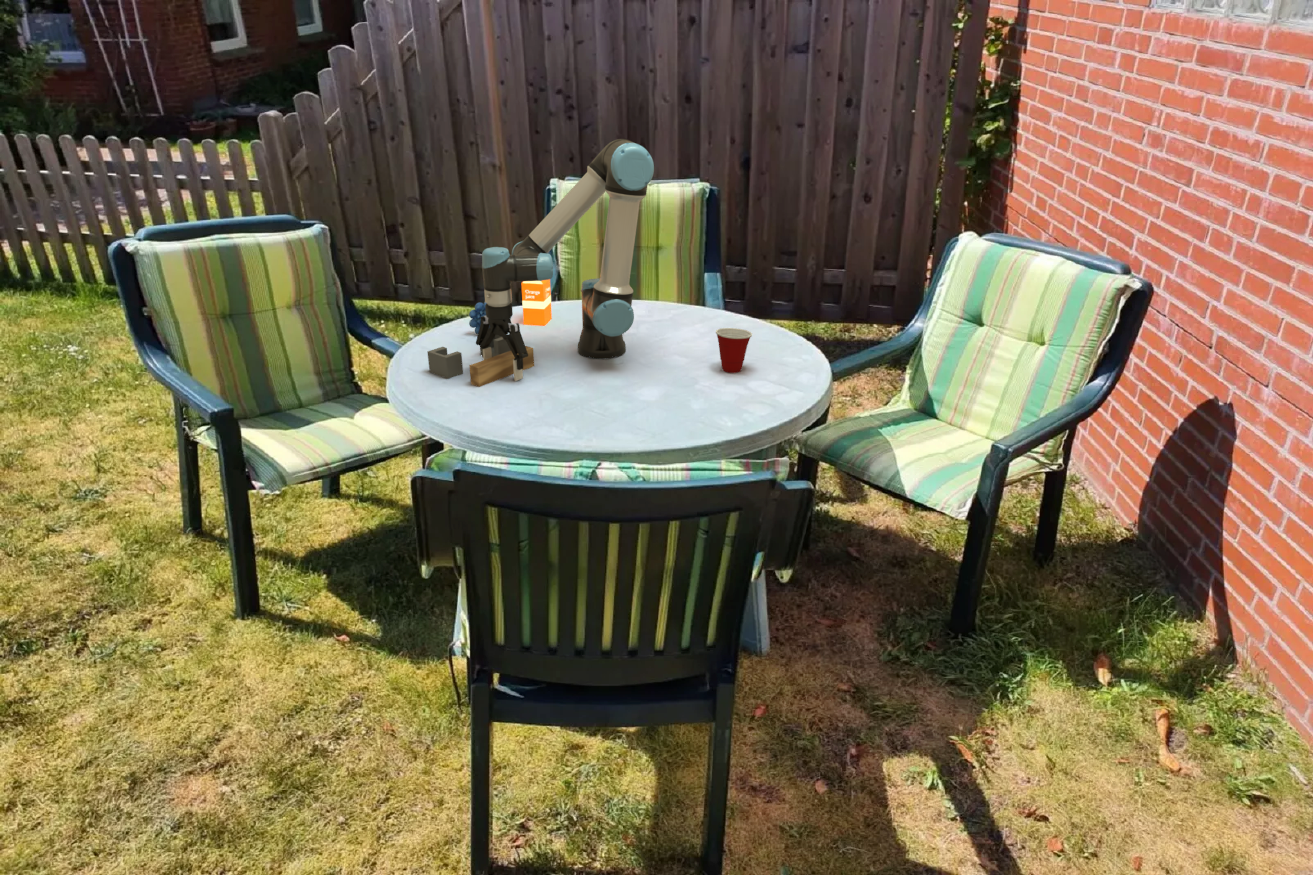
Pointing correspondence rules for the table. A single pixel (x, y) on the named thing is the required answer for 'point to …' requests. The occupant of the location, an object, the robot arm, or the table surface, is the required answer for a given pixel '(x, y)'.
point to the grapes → (477, 316)
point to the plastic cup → (732, 348)
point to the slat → (497, 367)
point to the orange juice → (536, 302)
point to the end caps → (459, 358)
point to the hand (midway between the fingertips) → (503, 374)
